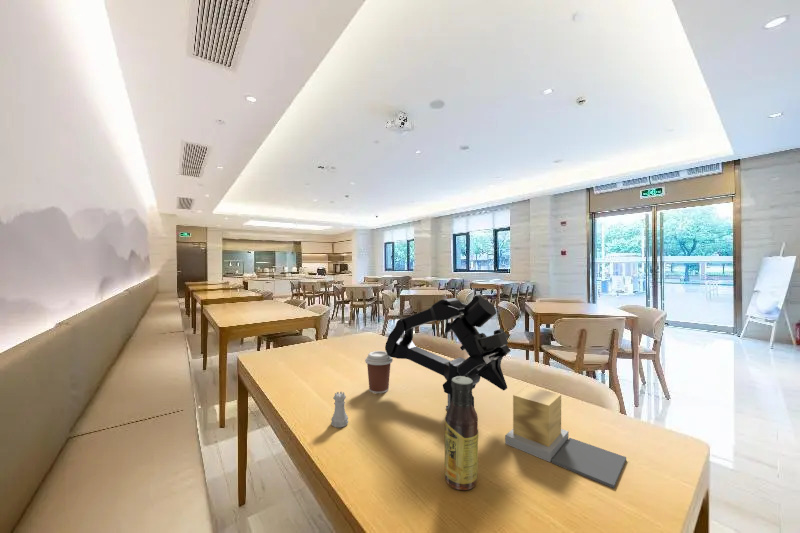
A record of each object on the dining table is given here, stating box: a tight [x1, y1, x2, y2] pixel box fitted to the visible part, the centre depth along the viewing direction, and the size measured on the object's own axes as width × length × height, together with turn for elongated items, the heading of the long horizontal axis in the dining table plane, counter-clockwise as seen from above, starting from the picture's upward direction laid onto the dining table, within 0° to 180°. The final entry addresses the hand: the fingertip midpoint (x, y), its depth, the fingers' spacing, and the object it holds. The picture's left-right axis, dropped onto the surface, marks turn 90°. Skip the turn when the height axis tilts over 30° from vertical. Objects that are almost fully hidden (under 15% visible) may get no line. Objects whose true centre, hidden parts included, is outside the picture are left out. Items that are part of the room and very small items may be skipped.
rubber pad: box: [551, 437, 627, 489], centre depth 67 cm, size 11×12×1 cm
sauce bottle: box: [444, 376, 479, 491], centre depth 61 cm, size 6×6×20 cm
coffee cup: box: [364, 350, 394, 394], centre depth 107 cm, size 9×9×12 cm
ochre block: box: [512, 385, 562, 447], centre depth 75 cm, size 8×8×9 cm
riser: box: [504, 428, 570, 463], centre depth 75 cm, size 10×12×2 cm
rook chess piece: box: [330, 391, 349, 429], centre depth 84 cm, size 4×4×8 cm
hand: (505, 389), depth 80 cm, fingers closed
